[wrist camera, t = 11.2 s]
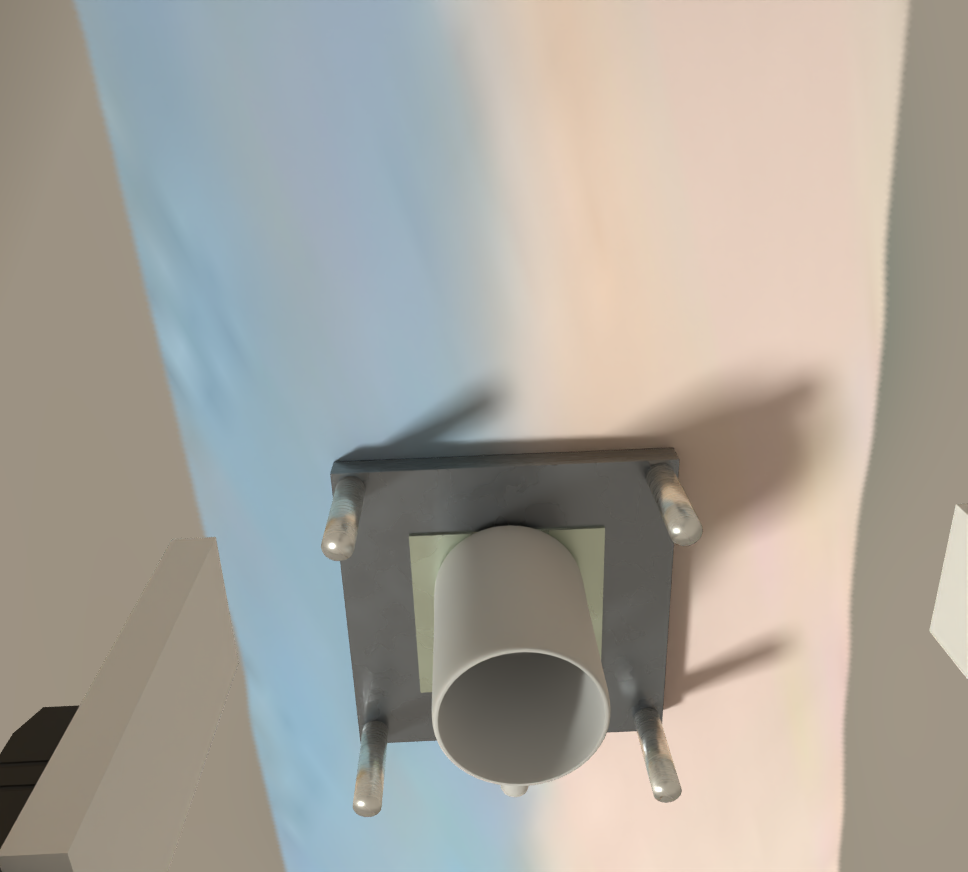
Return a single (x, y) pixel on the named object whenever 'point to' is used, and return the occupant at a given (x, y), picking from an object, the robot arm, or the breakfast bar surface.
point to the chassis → (490, 503)
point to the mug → (515, 660)
